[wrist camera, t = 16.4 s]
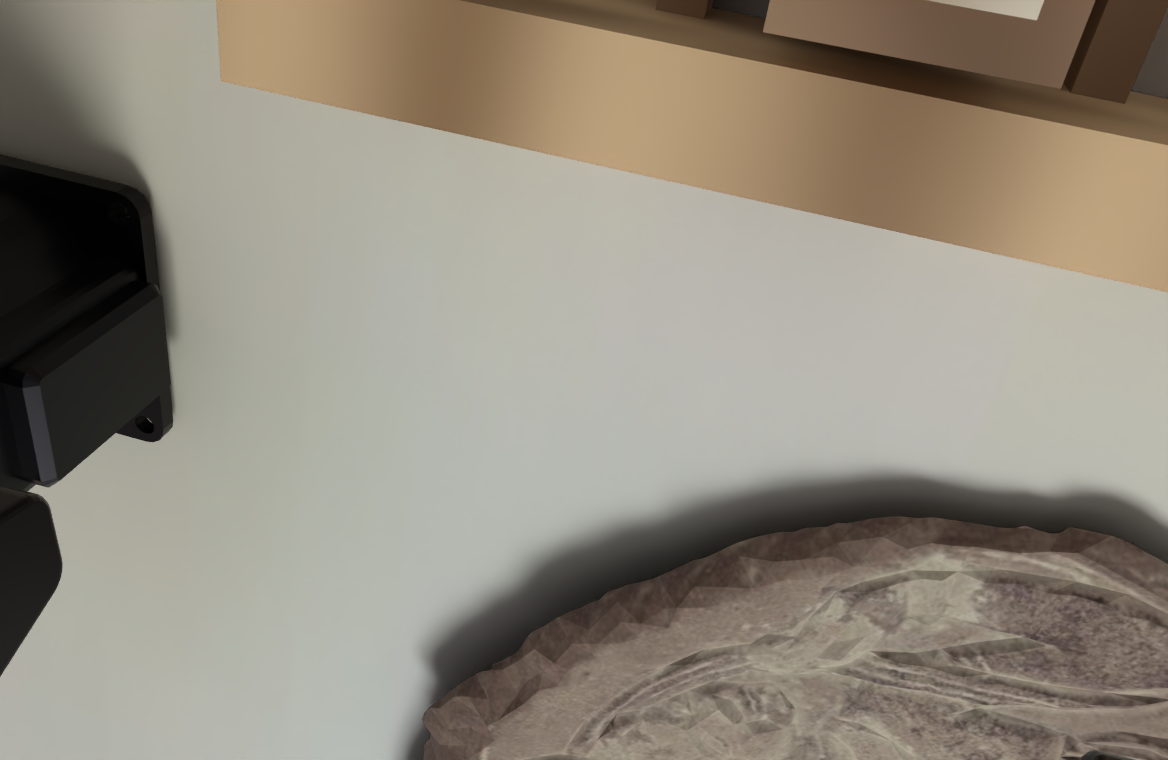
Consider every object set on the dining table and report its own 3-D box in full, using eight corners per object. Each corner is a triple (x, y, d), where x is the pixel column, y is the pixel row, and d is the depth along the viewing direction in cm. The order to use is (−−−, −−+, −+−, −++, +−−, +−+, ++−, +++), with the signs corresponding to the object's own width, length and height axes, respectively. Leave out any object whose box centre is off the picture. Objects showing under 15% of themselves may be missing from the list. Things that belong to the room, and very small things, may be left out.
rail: (307, 41, 19) (220, 81, 16) (304, -275, 16) (199, -286, 13) (1475, 292, 16) (1588, 385, 13) (1707, -34, 13) (1901, 7, 11)
